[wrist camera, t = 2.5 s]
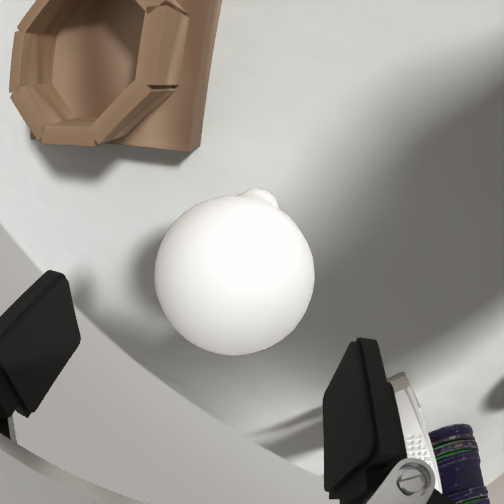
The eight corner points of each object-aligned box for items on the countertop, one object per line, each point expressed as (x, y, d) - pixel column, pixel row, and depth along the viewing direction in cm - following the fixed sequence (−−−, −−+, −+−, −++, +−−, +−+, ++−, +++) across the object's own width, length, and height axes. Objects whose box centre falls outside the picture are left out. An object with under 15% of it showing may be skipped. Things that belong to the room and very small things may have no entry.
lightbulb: (267, 134, 17) (224, 193, 8) (329, 215, 19) (352, 348, 9) (189, 195, 20) (95, 300, 10) (251, 265, 21) (213, 403, 12)
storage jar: (398, 443, 31) (407, 549, 18) (471, 413, 27) (495, 519, 14) (412, 464, 34) (420, 551, 21) (473, 440, 31) (491, 526, 18)
